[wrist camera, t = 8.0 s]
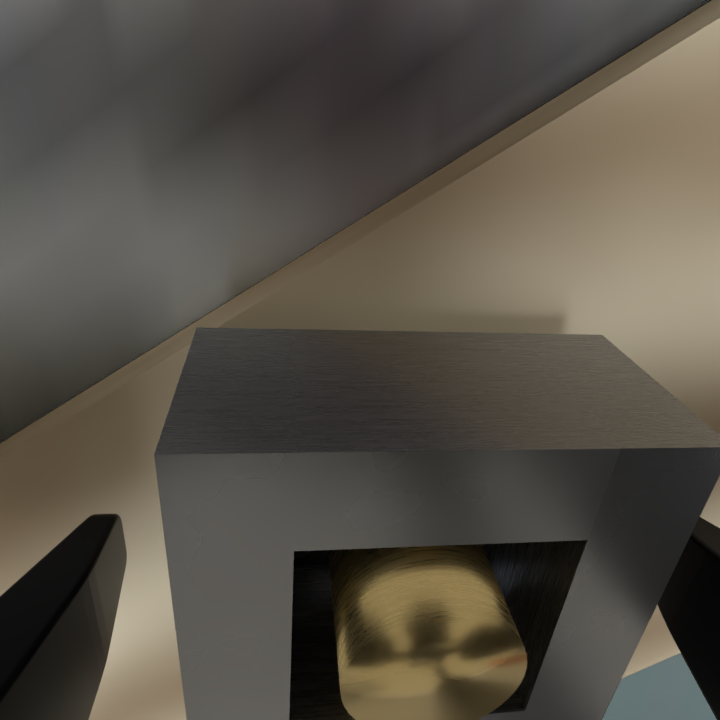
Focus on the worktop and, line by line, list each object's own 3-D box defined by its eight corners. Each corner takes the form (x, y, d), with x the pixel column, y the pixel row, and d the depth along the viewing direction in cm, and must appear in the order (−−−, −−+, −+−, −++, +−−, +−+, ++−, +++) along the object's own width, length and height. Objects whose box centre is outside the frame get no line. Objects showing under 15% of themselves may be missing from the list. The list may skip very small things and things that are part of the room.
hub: (545, 480, 12) (678, 691, 8) (337, 585, 12) (361, 826, 9) (438, 285, 9) (552, 449, 5) (189, 432, 10) (127, 668, 6)
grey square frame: (519, 601, 12) (585, 752, 9) (216, 617, 11) (194, 790, 8) (601, 334, 9) (733, 447, 6) (196, 327, 8) (153, 454, 5)
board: (1113, 415, 14) (1167, 438, 14) (259, 802, 18) (257, 838, 18) (1257, -340, 7) (1387, -394, 7) (-162, 544, 12) (-199, 583, 11)
